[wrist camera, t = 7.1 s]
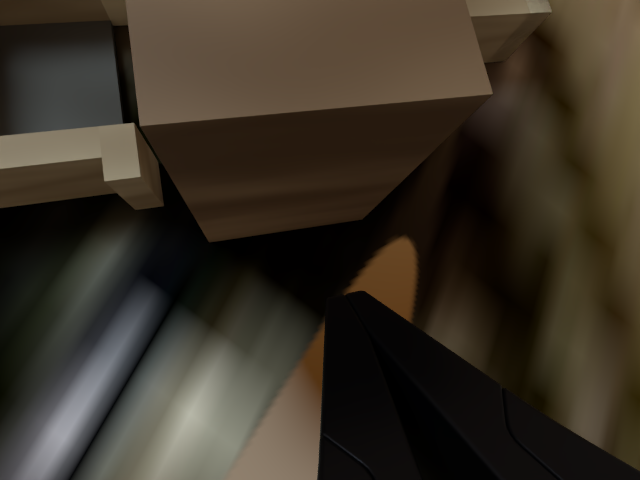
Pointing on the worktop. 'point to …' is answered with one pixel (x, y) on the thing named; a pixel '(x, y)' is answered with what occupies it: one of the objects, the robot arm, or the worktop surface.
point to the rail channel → (119, 97)
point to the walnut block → (299, 102)
